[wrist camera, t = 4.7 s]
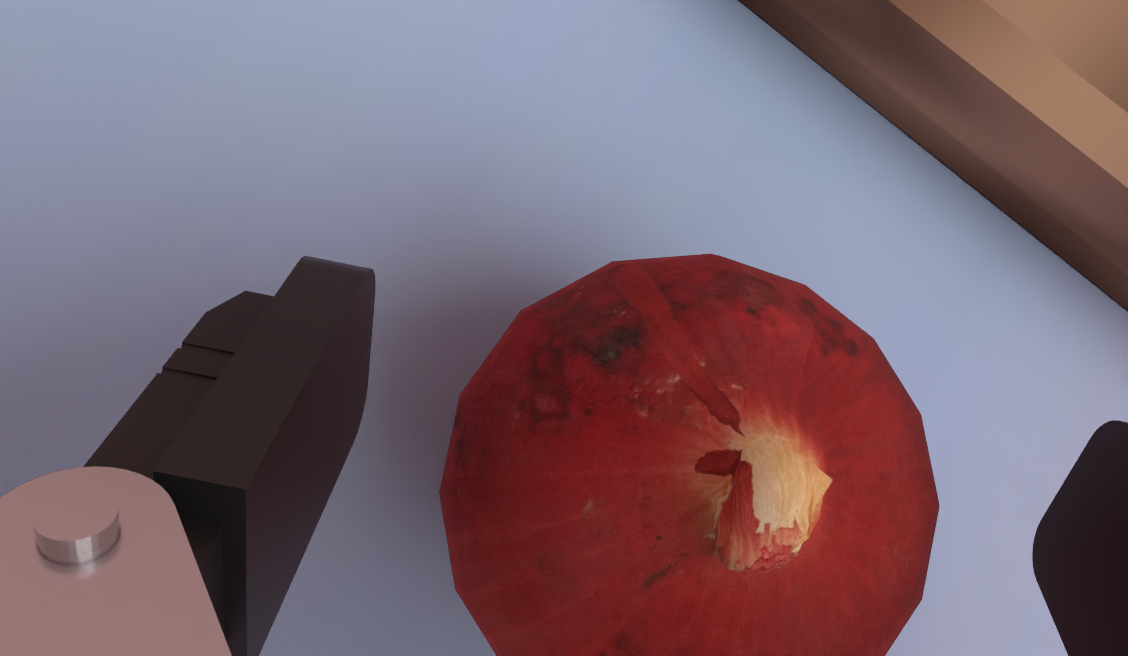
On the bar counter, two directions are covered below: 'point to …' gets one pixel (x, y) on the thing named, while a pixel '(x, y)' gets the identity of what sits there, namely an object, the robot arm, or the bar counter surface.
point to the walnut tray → (998, 103)
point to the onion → (688, 473)
